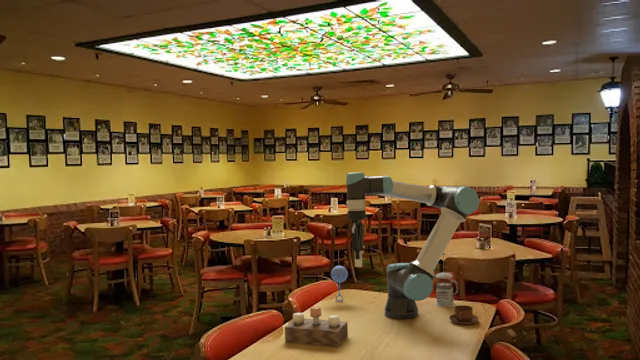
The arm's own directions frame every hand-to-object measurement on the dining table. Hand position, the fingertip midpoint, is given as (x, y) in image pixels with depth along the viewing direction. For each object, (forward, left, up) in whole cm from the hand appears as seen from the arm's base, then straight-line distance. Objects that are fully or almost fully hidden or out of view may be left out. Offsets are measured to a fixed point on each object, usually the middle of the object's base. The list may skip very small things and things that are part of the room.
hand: (358, 266), depth 202 cm
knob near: (+7, +15, -24) cm, 29 cm away
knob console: (+14, +15, -26) cm, 33 cm away
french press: (-30, -45, -27) cm, 60 cm away
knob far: (+21, +15, -24) cm, 35 cm away
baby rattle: (+22, -40, -27) cm, 53 cm away
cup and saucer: (-40, -20, -27) cm, 52 cm away
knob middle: (+14, +15, -21) cm, 29 cm away
